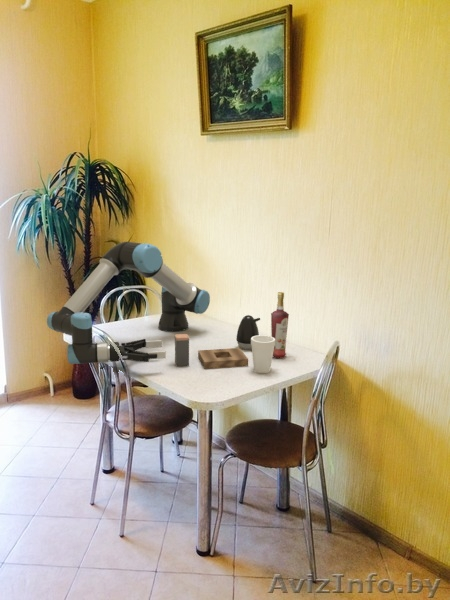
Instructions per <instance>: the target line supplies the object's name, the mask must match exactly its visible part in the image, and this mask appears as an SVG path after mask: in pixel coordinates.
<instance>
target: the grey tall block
mask: <svg viewBox="0 0 450 600" xmlns="http://www.w3.org/2000/svg"><path fill="white" fill-rule="evenodd" d="M174 363H175V366H176V368H182V367H190V337H189V335H188V334H187V333H178V334H174Z"/></svg>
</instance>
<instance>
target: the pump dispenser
mask: <svg viewBox="0 0 450 600" xmlns="http://www.w3.org/2000/svg"><path fill="white" fill-rule="evenodd" d="M258 321H261V318H260V317H257V318H255V317H253V316H252V315H249V314H247V315H245V316H243V317H242V319H241V321H240V323H239V325H238V329H237V333H236V342H237V344H238V346H239V348H240V349H241V350H246V351H247V350H248V351H250V350H251V351H252V346H251V338H252V337H253V336H258V335H260V334H259V328H258V324H257V322H258Z"/></svg>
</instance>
